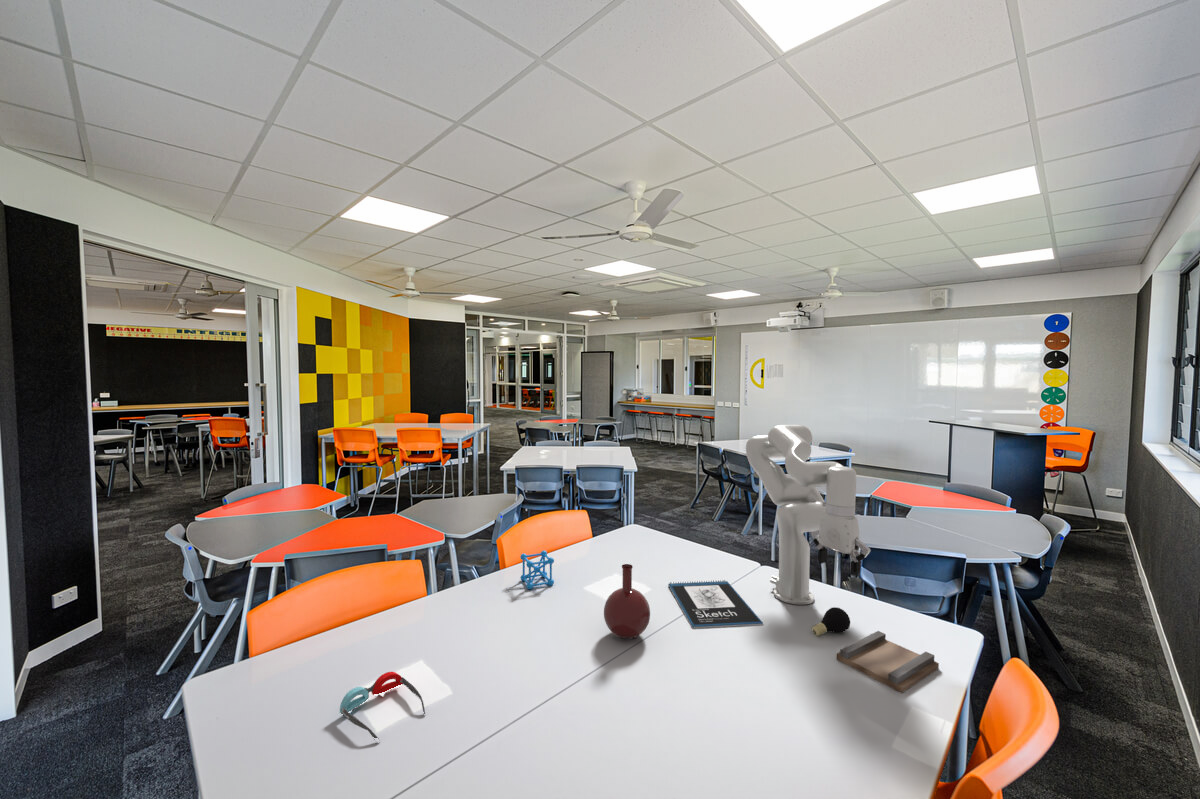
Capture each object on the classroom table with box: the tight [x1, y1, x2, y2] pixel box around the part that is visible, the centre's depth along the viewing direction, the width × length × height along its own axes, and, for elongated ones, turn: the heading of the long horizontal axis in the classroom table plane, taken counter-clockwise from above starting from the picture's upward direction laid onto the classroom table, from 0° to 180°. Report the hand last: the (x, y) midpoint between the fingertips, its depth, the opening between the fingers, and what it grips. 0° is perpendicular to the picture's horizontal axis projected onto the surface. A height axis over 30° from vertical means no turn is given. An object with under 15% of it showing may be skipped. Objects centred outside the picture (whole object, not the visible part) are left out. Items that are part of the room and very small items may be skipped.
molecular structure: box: [519, 550, 555, 590], centre depth 171 cm, size 10×10×10 cm
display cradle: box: [835, 630, 940, 693], centre depth 123 cm, size 16×18×3 cm
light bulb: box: [811, 607, 851, 637], centre depth 138 cm, size 7×7×12 cm
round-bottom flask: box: [603, 563, 651, 640], centre depth 136 cm, size 13×13×20 cm
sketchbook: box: [667, 579, 764, 629], centre depth 156 cm, size 22×30×2 cm
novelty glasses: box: [339, 671, 426, 739], centre depth 104 cm, size 14×15×5 cm
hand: (838, 568), depth 138 cm, fingers open, 9 cm apart
